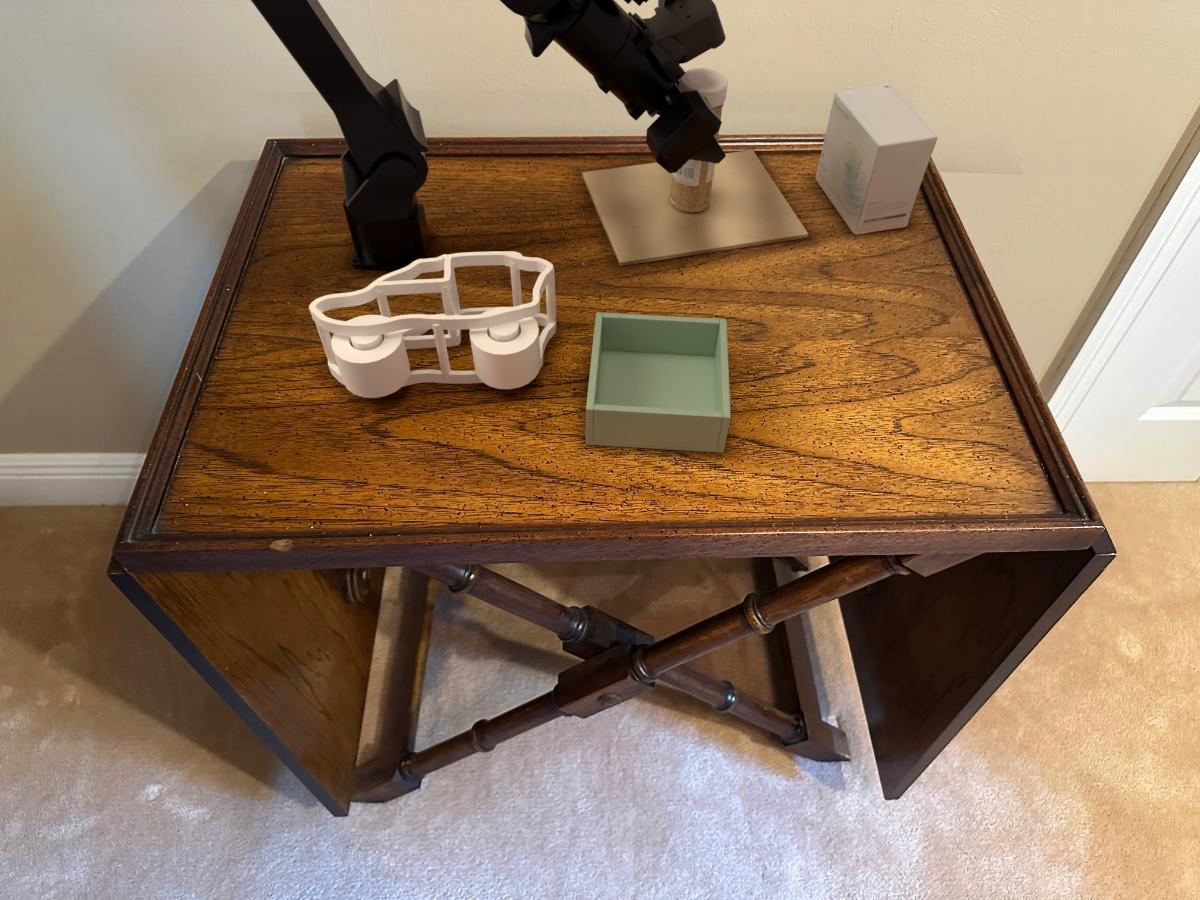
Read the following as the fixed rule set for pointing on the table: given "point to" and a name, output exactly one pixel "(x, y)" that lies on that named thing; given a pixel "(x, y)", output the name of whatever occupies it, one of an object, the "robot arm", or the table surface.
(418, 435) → the table surface
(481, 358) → the car outline toy
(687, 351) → the bin
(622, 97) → the robot arm
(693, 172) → the sprinkles bottle
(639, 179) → the mat
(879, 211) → the cosmetics box
